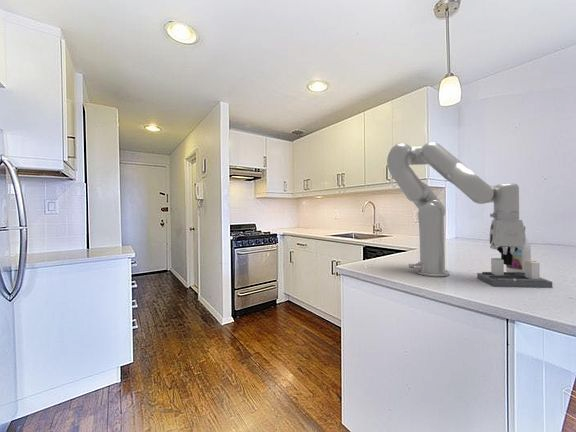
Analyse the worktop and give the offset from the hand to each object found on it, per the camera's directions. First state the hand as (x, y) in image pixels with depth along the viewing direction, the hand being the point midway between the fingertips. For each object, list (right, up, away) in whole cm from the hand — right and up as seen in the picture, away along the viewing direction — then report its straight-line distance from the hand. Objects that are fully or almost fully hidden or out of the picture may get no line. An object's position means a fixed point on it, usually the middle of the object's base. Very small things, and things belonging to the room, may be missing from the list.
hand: (506, 264), depth 102 cm
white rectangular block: (-3, -4, +1) cm, 5 cm away
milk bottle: (+11, -6, +8) cm, 15 cm away
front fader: (+4, -4, -6) cm, 8 cm away
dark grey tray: (0, -6, -2) cm, 7 cm away
